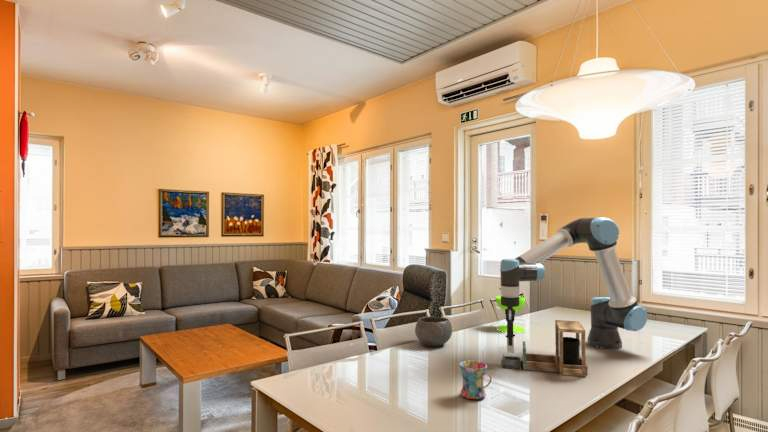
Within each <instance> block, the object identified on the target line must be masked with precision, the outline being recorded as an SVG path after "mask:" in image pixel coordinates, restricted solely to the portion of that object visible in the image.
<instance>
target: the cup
mask: <svg viewBox="0 0 768 432" xmlns="http://www.w3.org/2000/svg"><path fill="white" fill-rule="evenodd" d="M580 343H581V340H580V338H579V339H577V338H576V337H571V336H563V364H568V365H578V358H579V347H580V345H581V344H580Z"/></svg>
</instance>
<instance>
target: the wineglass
mask: <svg viewBox="0 0 768 432" xmlns="http://www.w3.org/2000/svg"><path fill="white" fill-rule="evenodd" d="M501 296H502V295H497V296H496V295H495V302H496V304H497V306H498V307H499V308H500V310H502V311H504V312H505V309H507V306H503V305H501ZM518 297H519V306H516V307H513V310H515V313H517V312H519V310H521V309H522V308H523V307H524V305H525V303H526V297H523V296H520V295H519V296H518ZM496 328H497V329H498V330H500V331H503V332H507V324H503V325H498V326H497V327H496ZM524 331H526V329H525V328H524V327H521V326H518V325H514V324H513V332H524ZM503 332H502V333H503ZM524 333H525V332H524Z"/></svg>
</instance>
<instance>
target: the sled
mask: <svg viewBox="0 0 768 432" xmlns="http://www.w3.org/2000/svg"><path fill="white" fill-rule="evenodd" d="M522 367H523V370H532V371H542V372H552V373H553V372H556V373H560V363H559V356H556V355H551V354H539V353H528V352H527V348H526V341H522ZM563 368H569V369H581V370H582V357H580V358H578V365H568V364H563ZM588 370H589V369H588V365H587V364H586V376H588V375H589V373H588V372H589V371H588Z"/></svg>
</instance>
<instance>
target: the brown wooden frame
mask: <svg viewBox="0 0 768 432" xmlns="http://www.w3.org/2000/svg"><path fill="white" fill-rule="evenodd" d="M554 325H555V327H554V328H555V329H554V331H555V356H559V363H560V372H559V375H560V376H571V377H582V378H586V377H587V375H586V365H587V364H586V363H587V362H586V361H587V360H586V353H587V352H586V329H585V328H584V326H583V325H582V323H580V321H577V320H561V319H555V324H554ZM564 333H573V334H574V333H575V338H577V339H579V340H580V334H581V340H580V343H581V349H580V347H579V358H582V370H581V369H569V368H563V337H564ZM580 350H581V355H580ZM580 356H581V357H580Z"/></svg>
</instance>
